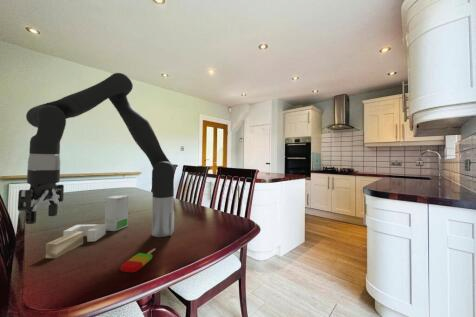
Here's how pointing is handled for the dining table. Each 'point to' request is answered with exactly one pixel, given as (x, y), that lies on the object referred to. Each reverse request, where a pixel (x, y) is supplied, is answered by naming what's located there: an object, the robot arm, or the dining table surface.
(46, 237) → the dining table surface
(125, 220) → the skincare box
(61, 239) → the beige wooden block
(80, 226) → the end cap
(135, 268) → the popsicle
